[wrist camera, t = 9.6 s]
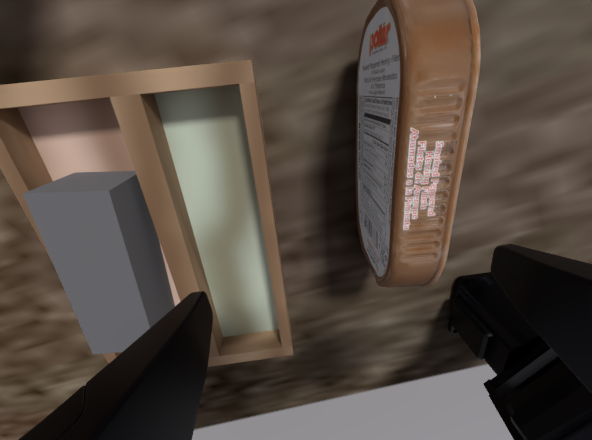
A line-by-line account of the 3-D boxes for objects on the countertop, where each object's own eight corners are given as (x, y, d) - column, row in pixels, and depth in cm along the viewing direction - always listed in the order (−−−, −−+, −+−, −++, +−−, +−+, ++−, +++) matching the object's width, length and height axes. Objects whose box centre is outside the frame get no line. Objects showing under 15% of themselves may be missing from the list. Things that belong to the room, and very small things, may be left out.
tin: (386, 241, 22) (449, 319, 14) (347, 246, 22) (389, 328, 14) (400, 8, 16) (526, -73, 8) (345, 13, 15) (419, -66, 8)
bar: (175, 307, 22) (156, 349, 18) (122, 310, 22) (92, 354, 18) (142, 170, 17) (108, 190, 14) (74, 172, 17) (22, 193, 13)
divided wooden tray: (254, 64, 16) (251, 59, 14) (291, 331, 25) (293, 354, 23) (2, 89, 15) (-44, 89, 13) (131, 353, 24) (117, 379, 22)
